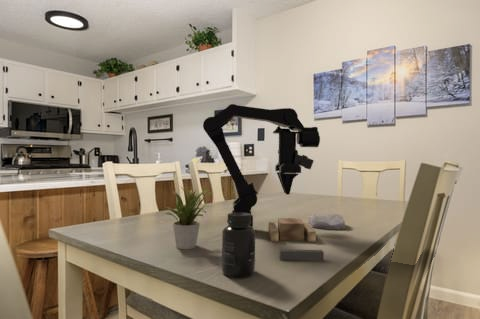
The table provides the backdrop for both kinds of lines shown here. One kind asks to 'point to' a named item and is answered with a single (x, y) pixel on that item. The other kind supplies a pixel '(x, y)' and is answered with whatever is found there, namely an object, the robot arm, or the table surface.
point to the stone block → (327, 221)
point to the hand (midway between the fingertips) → (286, 193)
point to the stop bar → (301, 254)
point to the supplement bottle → (238, 246)
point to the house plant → (187, 220)
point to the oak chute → (308, 232)
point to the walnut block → (290, 229)
